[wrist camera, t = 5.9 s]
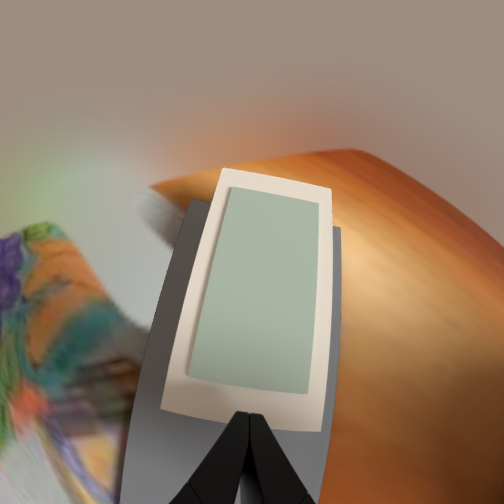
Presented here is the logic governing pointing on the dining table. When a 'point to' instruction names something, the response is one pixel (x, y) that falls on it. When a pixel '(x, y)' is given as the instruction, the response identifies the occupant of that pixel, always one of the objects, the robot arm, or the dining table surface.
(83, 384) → the dining table surface
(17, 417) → the dining table surface
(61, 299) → the dining table surface
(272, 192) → the tall block
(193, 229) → the mat
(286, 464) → the robot arm
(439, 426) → the dining table surface
